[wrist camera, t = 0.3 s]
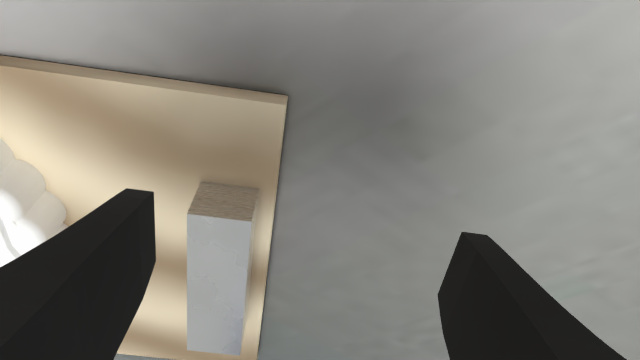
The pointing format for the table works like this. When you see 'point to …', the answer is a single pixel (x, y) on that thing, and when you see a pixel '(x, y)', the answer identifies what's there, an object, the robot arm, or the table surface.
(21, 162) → the mooncake
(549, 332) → the robot arm
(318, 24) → the table surface
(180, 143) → the wooden cutting board
